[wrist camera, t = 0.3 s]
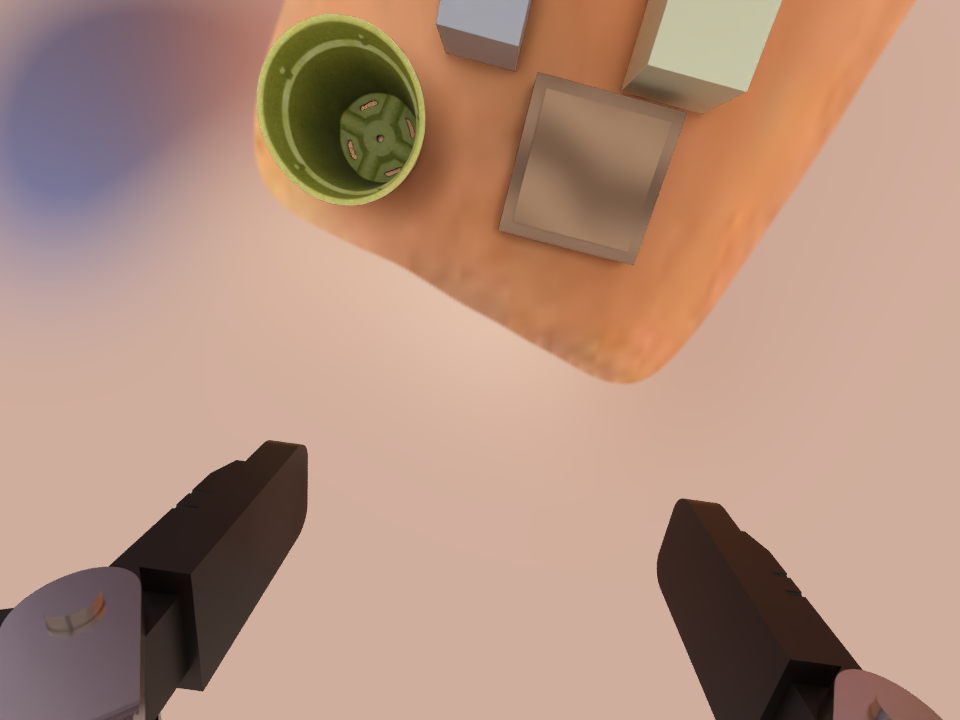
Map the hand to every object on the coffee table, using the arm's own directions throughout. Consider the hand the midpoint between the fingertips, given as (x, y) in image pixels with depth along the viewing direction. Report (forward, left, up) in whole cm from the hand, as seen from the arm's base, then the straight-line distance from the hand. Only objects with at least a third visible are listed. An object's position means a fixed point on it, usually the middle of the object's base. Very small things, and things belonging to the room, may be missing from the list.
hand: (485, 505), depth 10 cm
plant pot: (-9, -11, -28) cm, 31 cm away
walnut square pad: (-10, +4, -28) cm, 30 cm away
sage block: (-19, +8, -28) cm, 34 cm away
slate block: (-18, -5, -28) cm, 33 cm away
